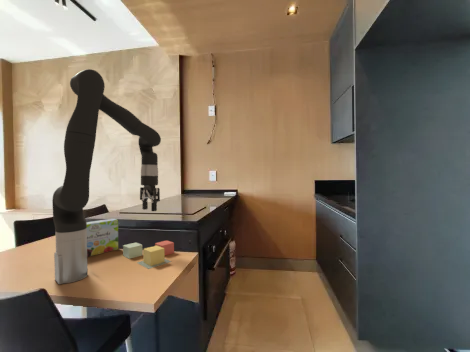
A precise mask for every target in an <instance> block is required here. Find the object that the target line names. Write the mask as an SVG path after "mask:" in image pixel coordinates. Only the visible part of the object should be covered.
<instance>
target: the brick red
mask: <svg viewBox="0 0 470 352" xmlns="http://www.w3.org/2000/svg"><path fill="white" fill-rule="evenodd" d="M154 246H159V247H162V248H164V255H165V256H168V255H171V254H175V242H173V241H170V240H168V239H167V240H162V241H158V242H155V243H154Z"/></svg>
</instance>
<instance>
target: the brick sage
mask: <svg viewBox="0 0 470 352" xmlns="http://www.w3.org/2000/svg"><path fill="white" fill-rule="evenodd" d="M122 256H123V257H125V258H127V259H129V260H130V259H133V258H139V257H141V256H143V244H141V243H139V242H133V243H132V242H131V243H128V244H124V245H123V244H122Z"/></svg>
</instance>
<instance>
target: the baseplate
mask: <svg viewBox="0 0 470 352" xmlns="http://www.w3.org/2000/svg"><path fill="white" fill-rule="evenodd" d="M171 262H172V261H171V260H169V259H167V258H165V262H162V263H159V264H156V265H153V266H150V265H148V264H146V263H144V260H142V261H141V260H140V261H138V262H136V264H138V265H140V266H142V267H144V268H146V269H148V270H150V269H153V268H156V267H158V266H163V265H165V264H169V263H171Z"/></svg>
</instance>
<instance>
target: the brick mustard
mask: <svg viewBox="0 0 470 352" xmlns="http://www.w3.org/2000/svg"><path fill="white" fill-rule="evenodd" d="M142 251H143V255H142V256H143V261H144V263H146V264H148V265H150V266H153V265H156V264H159V263H162V262H165V259H166V258H165V256H166V255H164V248H162V247H159V246H155V245H154V246H149V247H144V248H142Z"/></svg>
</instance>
